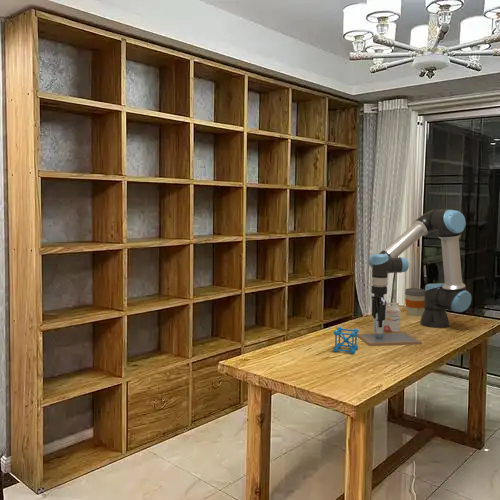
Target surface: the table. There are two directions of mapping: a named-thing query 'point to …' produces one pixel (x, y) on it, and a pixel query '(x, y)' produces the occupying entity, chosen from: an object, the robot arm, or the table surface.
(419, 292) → the reusable coffee cup
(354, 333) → the molecular structure
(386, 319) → the ink cartridge box
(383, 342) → the slate board
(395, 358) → the table surface
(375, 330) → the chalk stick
